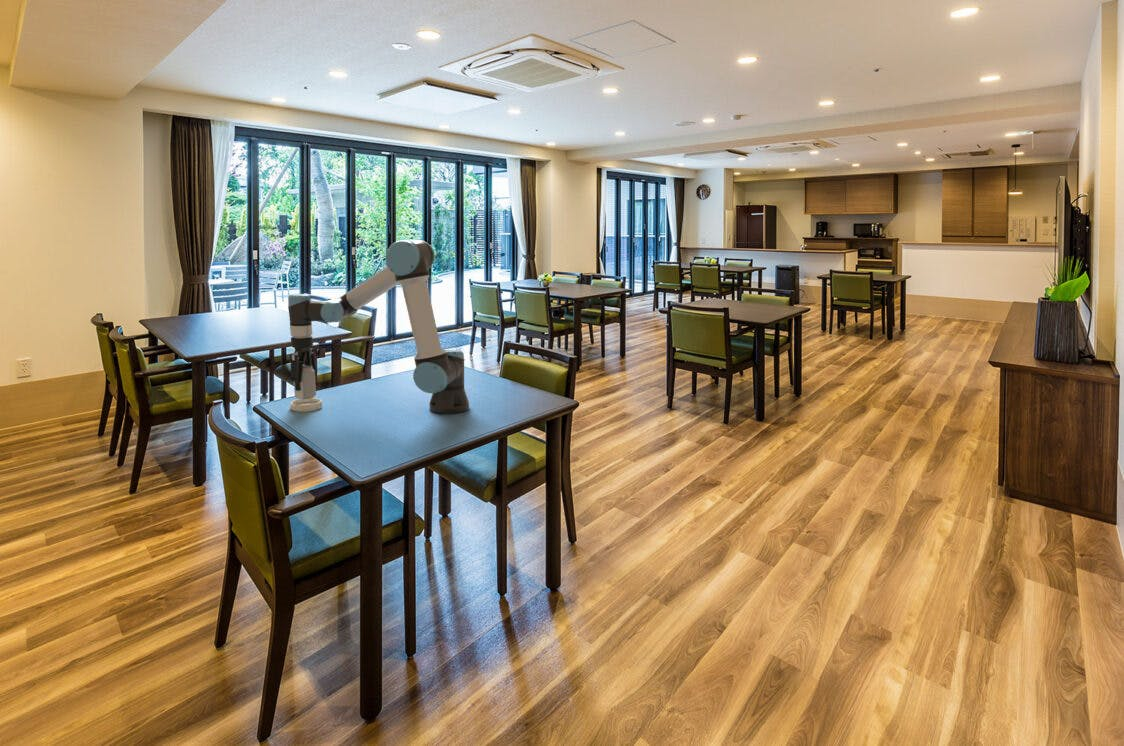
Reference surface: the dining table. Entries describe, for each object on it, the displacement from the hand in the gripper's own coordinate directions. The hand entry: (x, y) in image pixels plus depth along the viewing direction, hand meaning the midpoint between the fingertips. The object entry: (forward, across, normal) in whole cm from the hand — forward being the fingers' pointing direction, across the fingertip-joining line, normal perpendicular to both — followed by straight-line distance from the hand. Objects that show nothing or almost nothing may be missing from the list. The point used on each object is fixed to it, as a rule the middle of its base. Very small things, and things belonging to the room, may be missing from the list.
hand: (305, 395), depth 234 cm
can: (+1, 0, 0) cm, 1 cm away
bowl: (+5, 0, 0) cm, 5 cm away
